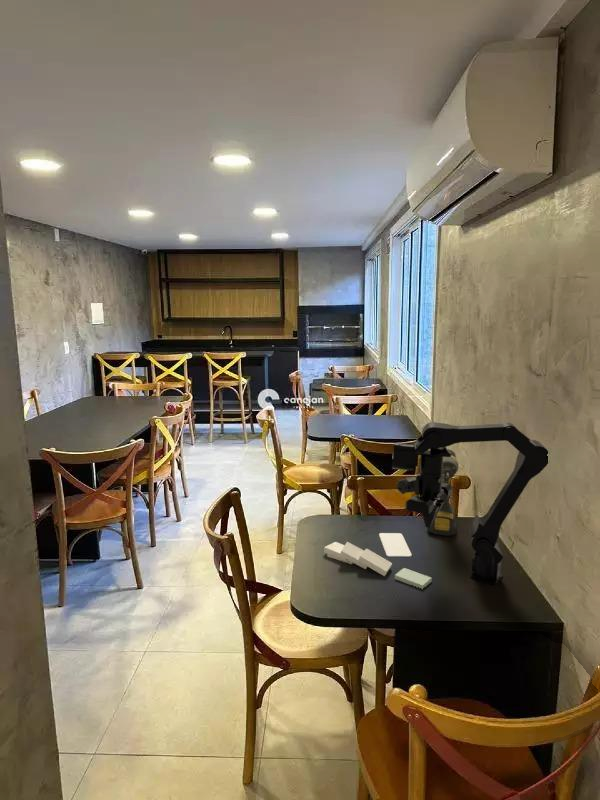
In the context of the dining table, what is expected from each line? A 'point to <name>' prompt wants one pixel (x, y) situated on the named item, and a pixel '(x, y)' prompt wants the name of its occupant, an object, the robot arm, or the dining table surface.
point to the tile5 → (339, 559)
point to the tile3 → (352, 554)
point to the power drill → (446, 501)
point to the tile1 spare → (413, 578)
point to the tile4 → (335, 550)
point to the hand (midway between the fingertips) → (428, 527)
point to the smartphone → (394, 545)
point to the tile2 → (375, 562)
